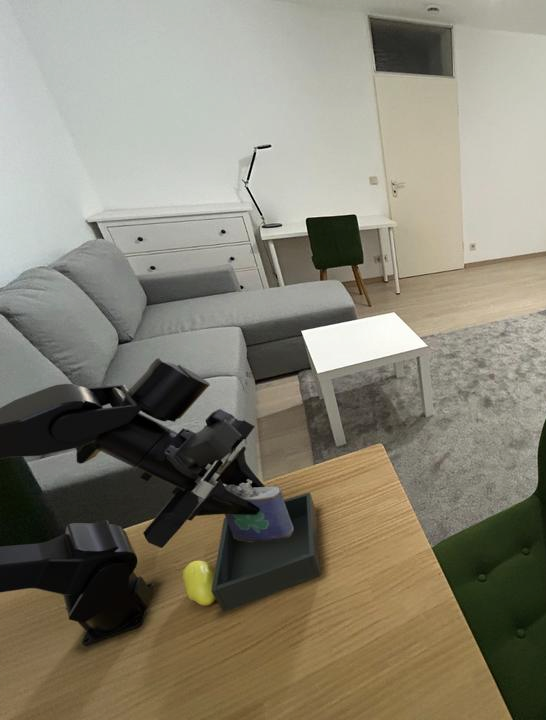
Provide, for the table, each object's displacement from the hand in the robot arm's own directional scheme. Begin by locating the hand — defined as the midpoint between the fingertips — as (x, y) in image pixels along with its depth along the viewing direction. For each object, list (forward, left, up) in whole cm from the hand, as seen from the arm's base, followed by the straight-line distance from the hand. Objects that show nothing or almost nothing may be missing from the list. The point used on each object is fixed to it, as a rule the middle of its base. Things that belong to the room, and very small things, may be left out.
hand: (262, 503), depth 57 cm
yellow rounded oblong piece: (-13, -2, -10) cm, 16 cm away
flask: (-2, +1, -7) cm, 7 cm away
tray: (-1, +1, -12) cm, 13 cm away
